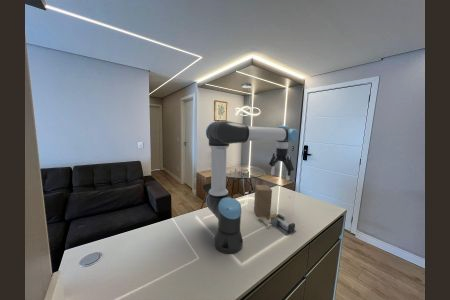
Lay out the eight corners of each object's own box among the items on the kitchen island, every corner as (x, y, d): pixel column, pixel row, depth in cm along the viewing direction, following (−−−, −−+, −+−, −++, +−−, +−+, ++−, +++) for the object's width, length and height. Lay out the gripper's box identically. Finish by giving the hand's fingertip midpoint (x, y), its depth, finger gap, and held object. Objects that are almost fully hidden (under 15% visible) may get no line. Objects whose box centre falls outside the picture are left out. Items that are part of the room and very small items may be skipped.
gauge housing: (279, 238, 95) (280, 229, 94) (256, 220, 112) (257, 213, 111) (295, 231, 101) (296, 223, 101) (271, 216, 119) (272, 209, 118)
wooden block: (270, 217, 117) (272, 190, 114) (255, 216, 117) (257, 189, 114) (266, 210, 127) (268, 185, 124) (253, 209, 127) (255, 184, 124)
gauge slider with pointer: (280, 237, 94) (281, 228, 93) (262, 223, 107) (263, 215, 106) (294, 231, 100) (295, 223, 99) (275, 219, 113) (276, 212, 112)
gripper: (301, 150, 108) (298, 181, 111) (272, 145, 129) (270, 172, 132) (293, 150, 104) (290, 183, 107) (265, 146, 125) (263, 173, 128)
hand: (279, 177), depth 119 cm, fingers open, 13 cm apart
